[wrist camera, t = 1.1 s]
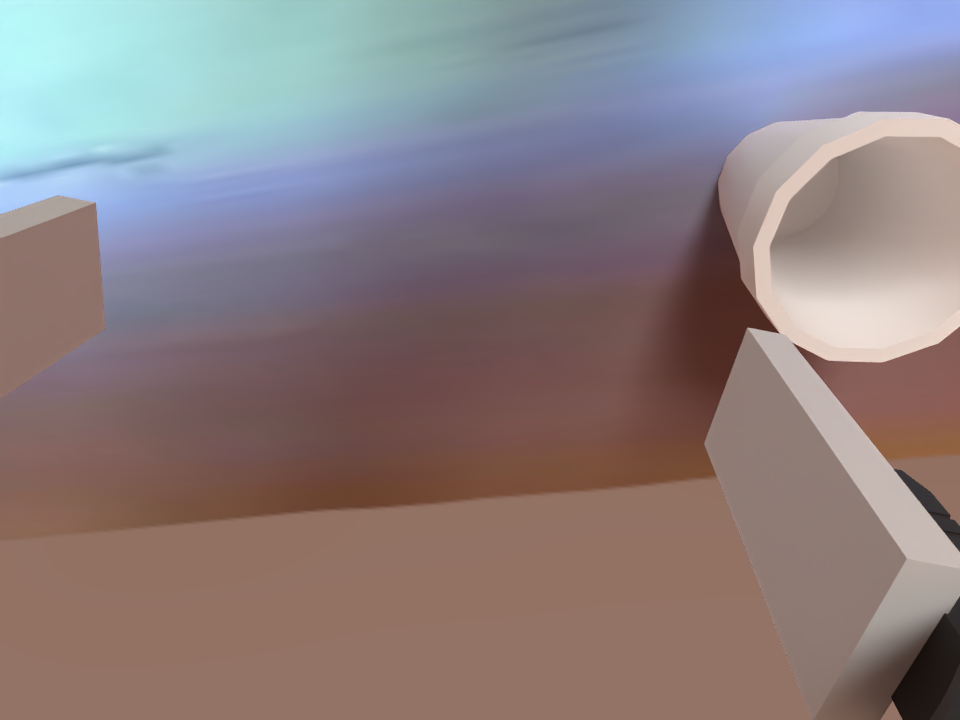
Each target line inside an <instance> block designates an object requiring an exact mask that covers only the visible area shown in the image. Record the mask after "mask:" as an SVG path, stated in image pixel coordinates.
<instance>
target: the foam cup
mask: <svg viewBox="0 0 960 720" xmlns="http://www.w3.org/2000/svg"><path fill="white" fill-rule="evenodd" d="M718 191H719V203H720V208H721V212H722V215H723V218H724V220H725V223H726V226H727V228H728V231H729V234H730V236H731V239H732V242H733V244H734V247H735V250H736V252H737V255H738V258H739V260H740V270H741V280H742V281H743V283H744V284H745V286H746V287H747V289H748V290H749V292H750V293H751V295H752V296H753V297H754V299H755V300H756V302H757V303H758V305H759V306H760V308H761V309H762V311H763V312H764V314H765V315H766V317H767V318H768V319H769V321H770V322H771V323H772V324H773V326H774V327H775V328H776V329H777V331H778V332H779V333H780V334H784V335H786V336H787V337H788V338H789V340H790V341H791V342H792V343H794V344H796V345H798V346H800V347H802V348H804V349H806V350H808V351H810V352H812V353H814V354H816V355H818V356H820V357H822V358H824V359H826V360H828V361H856V362H885V361H888V360H891V359H894V358H897V357H900V356H902V355H905V354H908V353H911V352H914V351H917V350H920V349H923V348H926V347H929V346H932V345H934V344H937V343H939V342H941V341H942V340H943V339H944V338H946V337H947V336H948V335H949V334H951V333H952V332H953V331H954V330H956V329H957V328H958V327H959V326H960V125H959V124H957V123H955V122H954V121H952V120H950V119H947V118H942V117H937V116H932V115H927V114H922V113H917V112H856V113H854V114H851V115H849V116H847V117H845V118H837V119H821V120H804V121H788V122H777V123H772V124H770V125H768V126H766V127H763V128H761V129H759V130H757V131H755V132H752V133H750V134H748V135H747V136H746V137H745V138H744V139H743V140H742V141H741V142H740V143H739V144H738V145H737V146H736V147H735V148H734V149H733V150H732V152H731V153H730V154H729V155H728V156H727V158H726V161H725V164H724V166H723V169H722V172H721V174H720V177H719V180H718Z"/></svg>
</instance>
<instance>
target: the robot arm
mask: <svg viewBox="0 0 960 720" xmlns="http://www.w3.org/2000/svg"><path fill="white" fill-rule="evenodd" d="M104 329H105V317H104V304H103V291H102V278H101V265H100V252H99V239H98V225H97V212H96V203H95V202H90V201H84V200H79V199H74V198H69V197H64V196H55V197H52V198H48V199H45V200H42V201H39V202H36V203H33V204H30V205H27V206H24V207H21V208H18V209H15V210H12V211H9V212H6V213H3V214H0V399H1V398H2V397H4V396H5V395H7V394H8V393H10V392H11V391H13V390H14V389H16V388H17V387H19V386H20V385H22V384H23V383H25V382H26V381H28V380H29V379H31V378H32V377H34V376H35V375H37V374H38V373H40V372H41V371H43V370H44V369H46V368H47V367H49V366H50V365H52V364H53V363H55V362H56V361H58V360H59V359H61V358H62V357H64V356H65V355H67V354H68V353H70V352H71V351H73V350H74V349H76V348H77V347H79V346H80V345H82V344H83V343H85V342H86V341H88V340H89V339H91V338H92V337H93V336H95V335H96V334H98V333H99V332H101V331H102V330H104ZM704 445H705V447H706V450H707V452H708V455H709V457H710V460H711V463H712V465H713V468H714V470H715V473H716V476H717V478H718V481H719V483H720V486H721V488H722V491H723V494H724V496H725V498H726V501H727V504H728V506H729V509H730V512H731V514H732V516H733V519H734V522H735V524H736V527H737V530H738V532H739V535H740V537H741V540H742V542H743V545H744V548H745V550H746V553H747V555H748V558H749V560H750V563H751V566H752V568H753V570H754V573H755V576H756V578H757V581H758V583H759V586H760V589H761V591H762V594H763V596H764V599H765V602H766V604H767V607H768V609H769V612H770V614H771V617H772V619H773V622H774V625H775V627H776V630H777V632H778V635H779V637H780V640H781V643H782V645H783V648H784V650H785V653H786V656H787V658H788V661H789V663H790V666H791V668H792V671H793V674H794V676H795V679H796V681H797V684H798V687H799V689H800V692H801V694H802V697H803V699H804V702H805V705H806V707H807V709H808V712H809V715H810V717H811V720H880V719H881V718H882V716H883V714H884V713H885V711H886V710H887V708H888V707H889V705H890V704H891V702H892V701H893V702H894V704H895V706H896V708H897V709H898V711H899V714H900V715H901V717H902V719H903V720H960V526H959V525H958V524H957V523H956V521H955V520H951V519H950V514H949V513H948V512H947V511H946V510H945V509H944V507H943V506H942V505H941V504H940V503H939V501H938V500H937V499H936V498H935V496H934V495H933V494H932V493H931V492H930V491H928V490H927V489H926V488H924V487H923V486H922V485H920V484H919V483H918V482H916V481H915V480H914V479H912V478H911V477H910V476H908V475H907V474H906V473H904V472H903V471H902V470H897V469H893V468H892V467H891V466H890V465H889V463H888V462H887V461H886V459H885V458H884V457H883V456H882V454H881V453H880V452H879V451H878V449H877V448H876V447H875V446H874V444H873V443H872V442H871V441H870V439H869V438H868V437H867V436H866V434H865V433H864V432H863V431H862V430H861V428H860V427H859V426H858V425H857V423H856V422H855V421H854V420H853V418H852V417H851V416H850V415H849V413H848V412H847V411H846V410H845V408H844V407H843V406H842V405H841V403H840V402H839V401H838V400H837V398H836V397H835V396H834V395H833V393H832V392H831V391H830V390H829V388H828V387H827V386H826V385H825V383H824V382H823V381H822V380H821V378H820V377H819V376H818V375H817V373H816V372H815V371H814V370H813V368H812V367H811V366H810V365H809V363H808V362H807V361H806V360H805V358H804V357H803V356H802V355H801V353H800V352H799V351H798V350H797V348H796V347H795V346H794V345H793V343H792V342H791V341H790V340H789V338H788V337H787V336H786V335H784V334H779V333H774V332H769V331H763V330H758V329H753V328H748V327H747V330H746V333H745V335H744V338H743V341H742V343H741V346H740V349H739V351H738V354H737V357H736V359H735V362H734V365H733V367H732V370H731V373H730V375H729V378H728V381H727V384H726V386H725V389H724V392H723V394H722V397H721V400H720V402H719V405H718V408H717V410H716V413H715V416H714V418H713V421H712V424H711V426H710V429H709V432H708V434H707V437H706V440H705V443H704Z"/></svg>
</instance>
